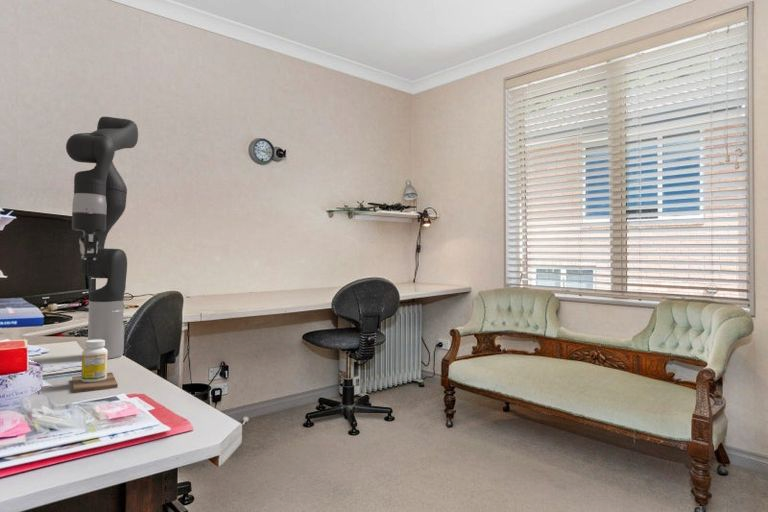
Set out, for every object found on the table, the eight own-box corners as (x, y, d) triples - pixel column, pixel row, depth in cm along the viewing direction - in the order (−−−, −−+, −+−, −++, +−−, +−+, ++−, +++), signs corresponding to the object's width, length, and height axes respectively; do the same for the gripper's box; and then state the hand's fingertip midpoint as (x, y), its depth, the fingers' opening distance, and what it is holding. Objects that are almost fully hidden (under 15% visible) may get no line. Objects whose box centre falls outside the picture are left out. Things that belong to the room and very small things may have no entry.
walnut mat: (72, 380, 116) (72, 376, 116) (112, 375, 121) (112, 372, 121) (73, 392, 105) (73, 389, 105) (117, 387, 110) (117, 384, 110)
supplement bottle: (99, 383, 111) (101, 342, 111) (76, 383, 110) (77, 342, 110) (111, 377, 116) (112, 338, 116) (88, 377, 116) (89, 338, 116)
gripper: (71, 213, 124) (69, 273, 124) (73, 209, 113) (71, 276, 113) (103, 215, 129) (102, 273, 129) (109, 211, 117) (107, 275, 117)
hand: (87, 274), depth 121 cm, fingers open, 8 cm apart
